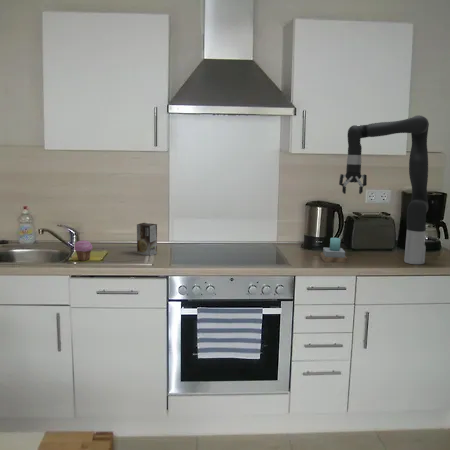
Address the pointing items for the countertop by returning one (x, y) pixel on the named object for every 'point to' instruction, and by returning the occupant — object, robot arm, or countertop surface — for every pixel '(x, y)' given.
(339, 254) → the top block
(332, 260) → the bottom block
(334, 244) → the teal cylinder
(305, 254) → the countertop surface
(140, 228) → the coffee box
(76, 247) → the cupcake
